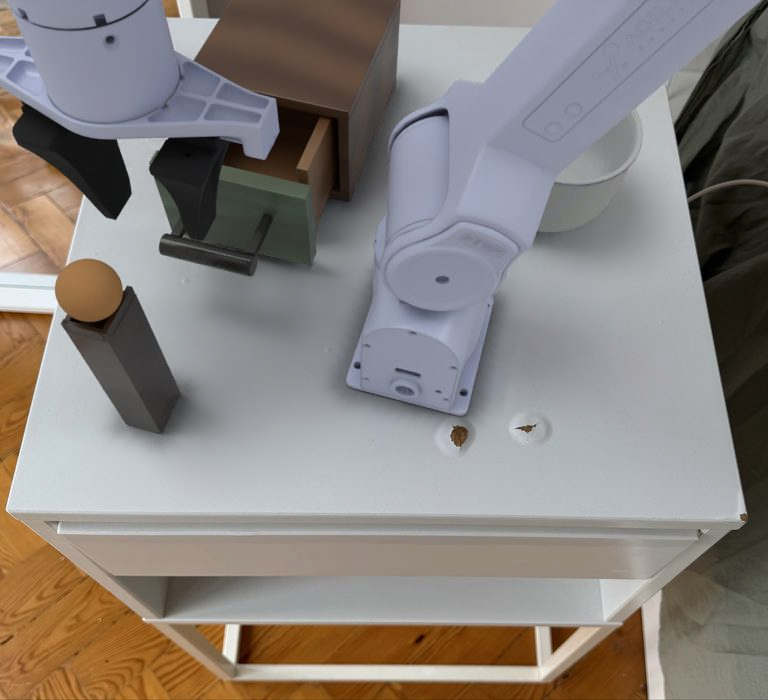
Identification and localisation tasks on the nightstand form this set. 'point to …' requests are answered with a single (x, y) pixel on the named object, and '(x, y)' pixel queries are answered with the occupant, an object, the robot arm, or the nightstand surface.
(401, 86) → the nightstand surface
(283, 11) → the cabinet
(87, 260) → the ball
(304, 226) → the drawer
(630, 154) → the teacup
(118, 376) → the stand
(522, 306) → the nightstand surface
